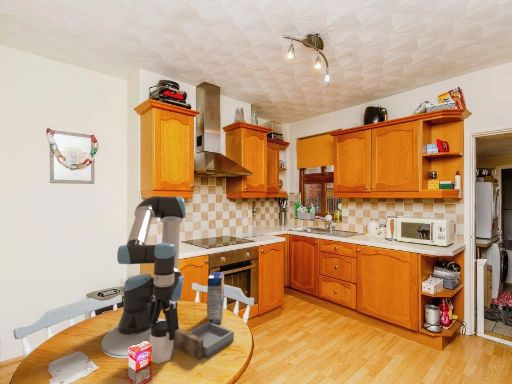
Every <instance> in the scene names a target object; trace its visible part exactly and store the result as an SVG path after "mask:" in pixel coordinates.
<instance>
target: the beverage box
mask: <svg viewBox="0 0 512 384" xmlns="http://www.w3.org/2000/svg"><path fill="white" fill-rule="evenodd" d="M224 299H225V272H224V271H223V272H221V271H219V272H218V271H217V272H215V271H214V272H213V271H211V273H210V274H209V276H208V278H207V300H206V301H207V303H206V304H207V305H206V307H207V308H206V323H207V322H211V323H213V324H216V325H222V320H223V318H224V306H225V305H224V302H225V301H224Z"/></svg>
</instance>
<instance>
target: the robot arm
mask: <svg viewBox="0 0 512 384" xmlns="http://www.w3.org/2000/svg"><path fill="white" fill-rule="evenodd" d="M186 216H187V215H186V203H185V199H184V197H182V196H175V195H174V196H159V195H154V196H150V197H148V198H147V197H146V198H145V199H144V200H142V201H141V202H140V203H138V205H137V206H136V208H135V211H134V221H133V223H132V225H131V230H130V233H129V235H128V238H127V242H126V244H124V245H120V246H118V249H117V254H116V257H117V259H116V260H117V263H118V264H119V265H139V264H140V265H141V264H143V265H144V264H153V266H154V267H153V275H152V274H150V273H141V274H136V275H133V276H130V277H128V278H127V279H126V280H125V281H124V288H123V311H122V314H121V317H120V318H119V322H118V329H117V330H118V331H119V332H120V333H122V334H124V333H125V335H132V334H131V333H136V334H140V333H139V332H141V333H143V331H144V332H146V331H148V330H151V326H152V325H153V324H154V323H156V322H158V321H160V320H159V318H160V315H161V312H162V313H163V314H164V318H165V321H166V323H167V328H168V331H167V332H166V350H168V349H170V348H172V347H173V341H174V331H176V330H178V329H180V325H179V317H178V302H179V301H180V300H181V299H182V294H183V293H182V292H183V287H184V281H185V276H184V275H182V271H181V270H180V269H179V261H180V260H179V259H180V256H179V255H180V233H181V232H180V230H181V229H180V227H181V223H183V222H184V219H185V218H186ZM156 218H157V219H160V222H161V223H162V234H161V235H162V236H161V242H159V243H156V244H147V242H148V237H149V232H150V229H151V228H150V227H151V223H152V221H153V220H154V219H156ZM173 348H174V347H173Z"/></svg>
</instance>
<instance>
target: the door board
mask: <svg viewBox="0 0 512 384" xmlns="http://www.w3.org/2000/svg"><path fill="white" fill-rule="evenodd" d="M188 332H189V331H185V330H183V329H181V328H179V329H178V330H176V331H174V342H173V349H176V350H178V351H180V352H181V353H184V354H185V355H188V356H189V357H191V358H194V359H195V360H197V361H201V360H202V359H204V357H203V340H204V339H201V338H199V337H197V336H195V335H192V334H190V333H188Z"/></svg>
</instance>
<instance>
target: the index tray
mask: <svg viewBox="0 0 512 384" xmlns="http://www.w3.org/2000/svg"><path fill="white" fill-rule="evenodd" d="M187 332H188V333H190V334H192V335H195V336H197V337H199V338H201V339H204V340H203V359H204V358H205V359H208V358H210V357H212V356H213V355H214V354H216V353H218V352H219V351H221V350H222V349H224V348H225V347H227V346H228V345H230V344H232V343H233V342H234V340H235V339H234V335H235V331H233V330H231V329H228V328H226V327H223V326H222V325H219V324H213V323H211V322H207V321H206V322H205V323H203V324H202V325H200V326H198V327H195V328H193V329H191V330H190V331H187Z"/></svg>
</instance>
